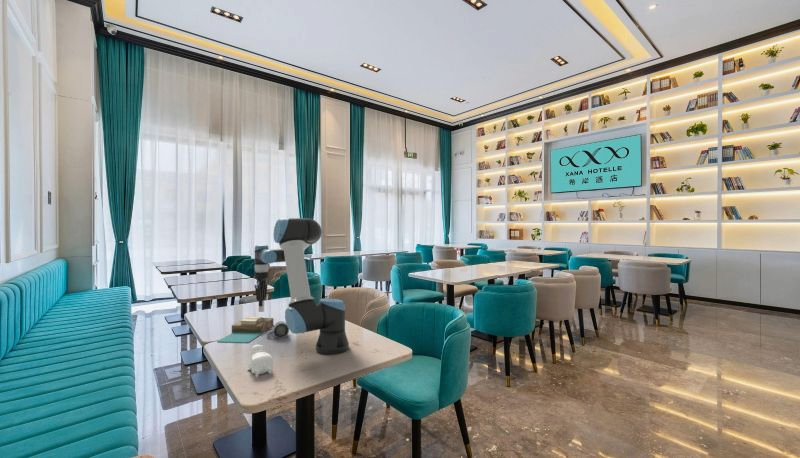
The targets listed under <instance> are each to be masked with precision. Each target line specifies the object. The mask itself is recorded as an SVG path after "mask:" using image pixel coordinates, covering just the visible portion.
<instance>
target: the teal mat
mask: <svg viewBox="0 0 800 458" xmlns="http://www.w3.org/2000/svg"><path fill="white" fill-rule="evenodd" d="M262 334H263V332H262V333H242V332H233V333H232V332H231V333H230V334H228V335H226V336H225V337H223V338H221V339H218V340H217V342H216V343H234V344H235V343H237V344H238V343H239V344H250V343H251V342H252V341H254V340H255V339H257V338H258V337H260V336H261V335H262Z"/></svg>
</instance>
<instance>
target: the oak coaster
mask: <svg viewBox="0 0 800 458" xmlns="http://www.w3.org/2000/svg"><path fill="white" fill-rule="evenodd" d="M262 318H263V317H262V316H247V317H244V318H243V319H241V320H240V321H241V324H242V325H256V324H257V323H259V322H261V321H262Z"/></svg>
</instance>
